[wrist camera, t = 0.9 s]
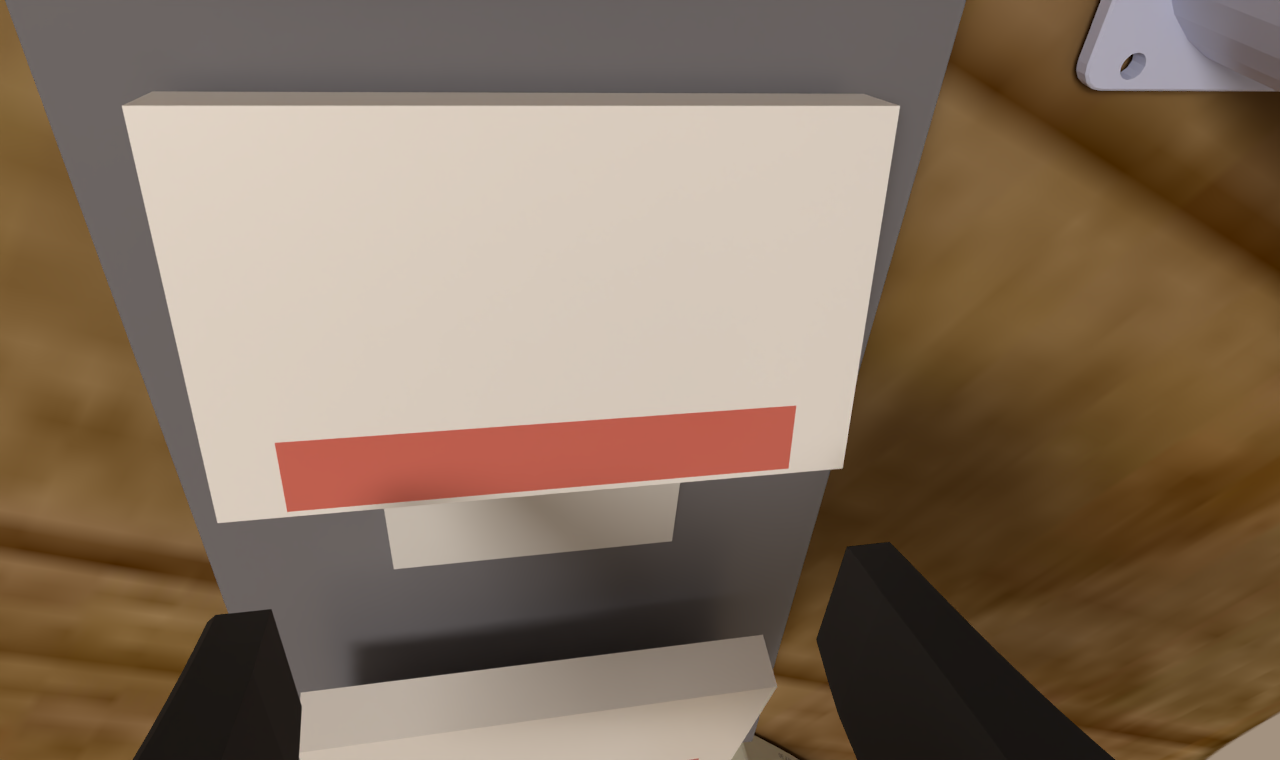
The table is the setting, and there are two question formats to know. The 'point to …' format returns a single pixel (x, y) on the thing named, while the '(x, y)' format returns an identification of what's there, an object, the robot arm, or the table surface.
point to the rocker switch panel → (495, 528)
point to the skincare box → (760, 751)
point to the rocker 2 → (553, 709)
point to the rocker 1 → (510, 287)
